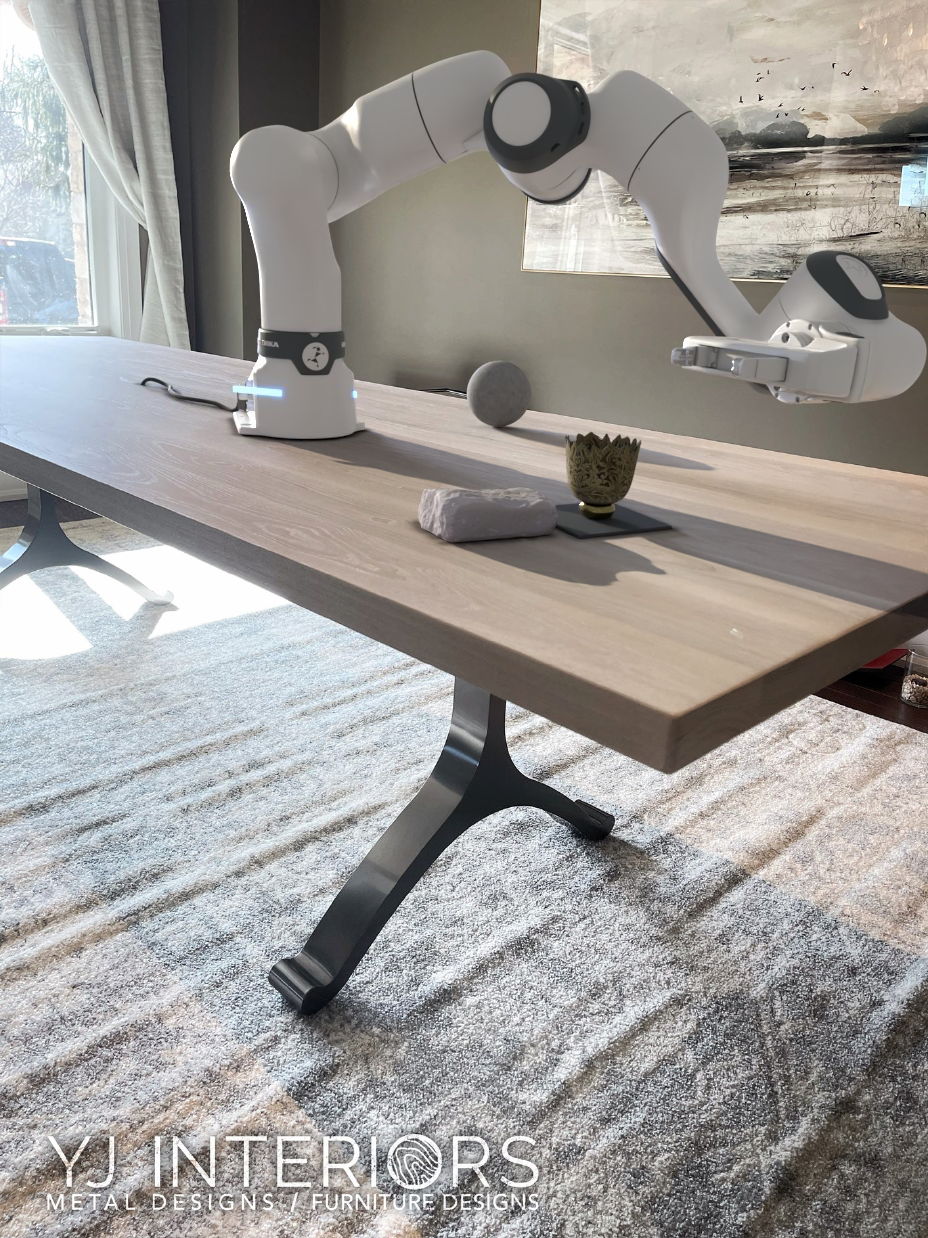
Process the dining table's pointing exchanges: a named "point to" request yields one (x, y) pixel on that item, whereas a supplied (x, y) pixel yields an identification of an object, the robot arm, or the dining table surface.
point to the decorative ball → (498, 393)
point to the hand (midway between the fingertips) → (705, 362)
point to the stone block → (486, 513)
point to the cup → (600, 472)
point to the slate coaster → (605, 522)
